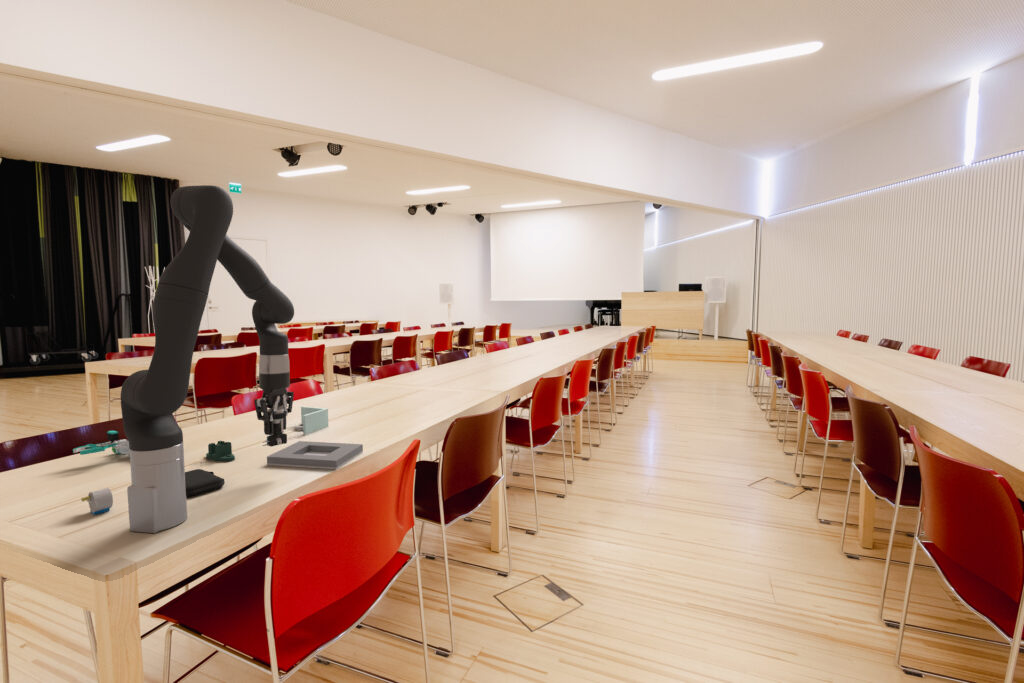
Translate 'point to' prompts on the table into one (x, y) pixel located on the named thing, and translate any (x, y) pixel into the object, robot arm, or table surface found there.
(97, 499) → the electric motor
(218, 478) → the carrying case or bag
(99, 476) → the table surface
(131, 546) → the table surface
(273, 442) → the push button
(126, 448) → the robot kit
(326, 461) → the plate
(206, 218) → the robot arm
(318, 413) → the l-shaped corner panel
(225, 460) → the mount
